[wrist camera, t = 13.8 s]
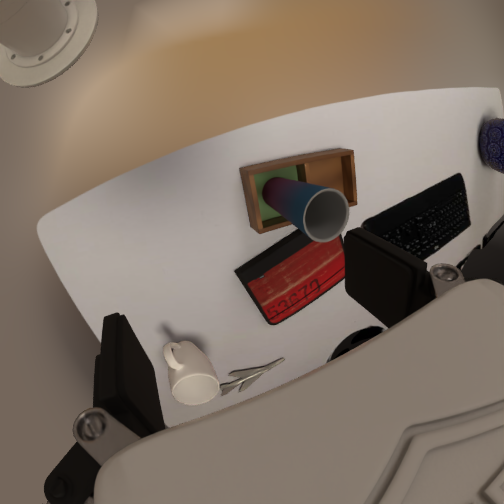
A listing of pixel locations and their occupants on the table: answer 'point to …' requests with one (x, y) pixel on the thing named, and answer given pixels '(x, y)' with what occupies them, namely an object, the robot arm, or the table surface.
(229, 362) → the table surface
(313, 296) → the binder
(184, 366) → the mug
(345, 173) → the wooden compartment tray
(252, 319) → the table surface
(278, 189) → the cup
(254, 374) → the toy airplane
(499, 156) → the planter
